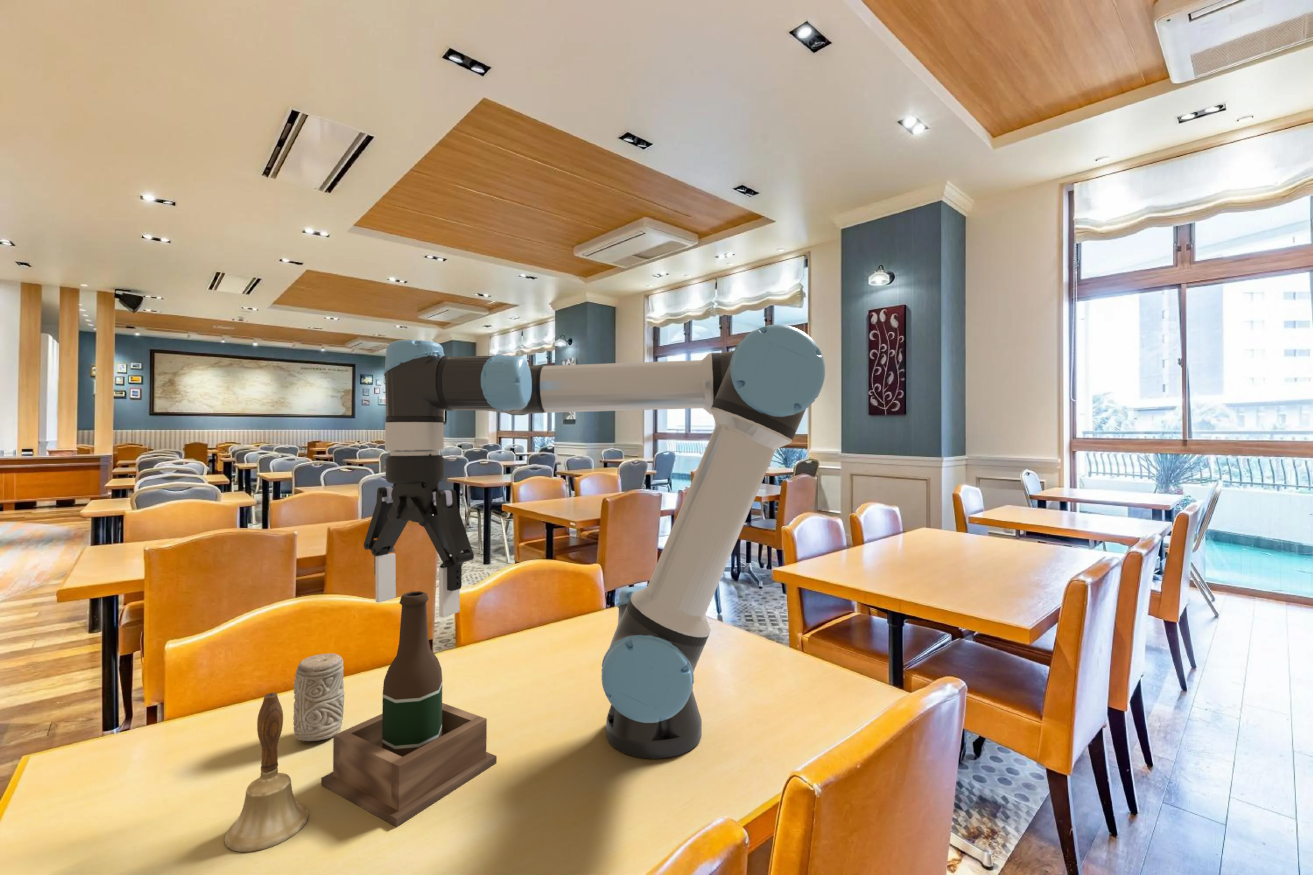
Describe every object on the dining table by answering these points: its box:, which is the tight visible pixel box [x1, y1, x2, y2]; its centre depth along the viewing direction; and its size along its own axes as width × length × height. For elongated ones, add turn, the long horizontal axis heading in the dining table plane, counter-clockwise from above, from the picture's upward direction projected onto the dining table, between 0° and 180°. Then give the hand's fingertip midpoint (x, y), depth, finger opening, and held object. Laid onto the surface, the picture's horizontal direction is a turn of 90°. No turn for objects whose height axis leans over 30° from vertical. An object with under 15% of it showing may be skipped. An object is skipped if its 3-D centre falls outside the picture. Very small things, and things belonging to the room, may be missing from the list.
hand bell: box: [224, 692, 309, 853], centre depth 69 cm, size 8×8×16 cm
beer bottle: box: [381, 590, 443, 757], centre depth 80 cm, size 8×8×24 cm
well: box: [320, 702, 497, 828], centre depth 80 cm, size 16×16×6 cm
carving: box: [292, 652, 345, 742], centre depth 90 cm, size 6×8×12 cm
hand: (416, 606), depth 80 cm, fingers open, 13 cm apart
